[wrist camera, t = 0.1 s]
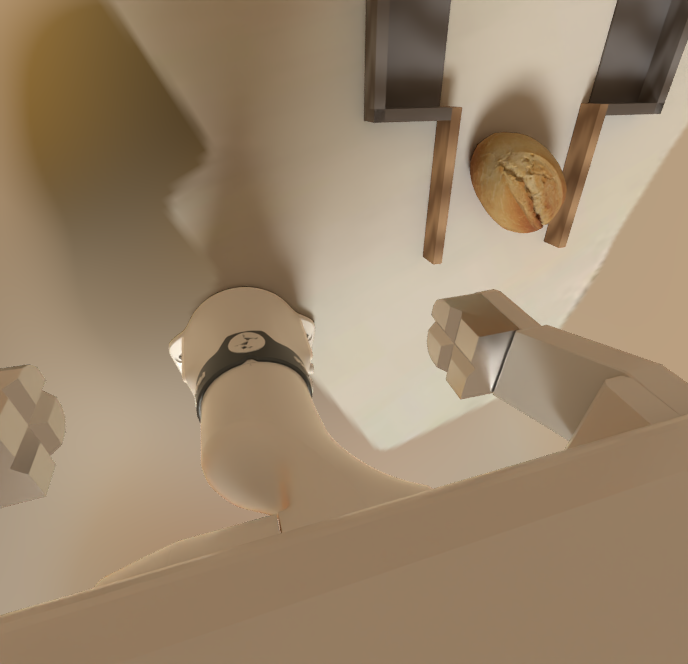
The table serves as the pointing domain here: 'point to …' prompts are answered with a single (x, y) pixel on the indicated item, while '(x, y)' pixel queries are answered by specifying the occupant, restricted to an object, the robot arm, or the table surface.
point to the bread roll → (517, 181)
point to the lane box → (424, 105)
